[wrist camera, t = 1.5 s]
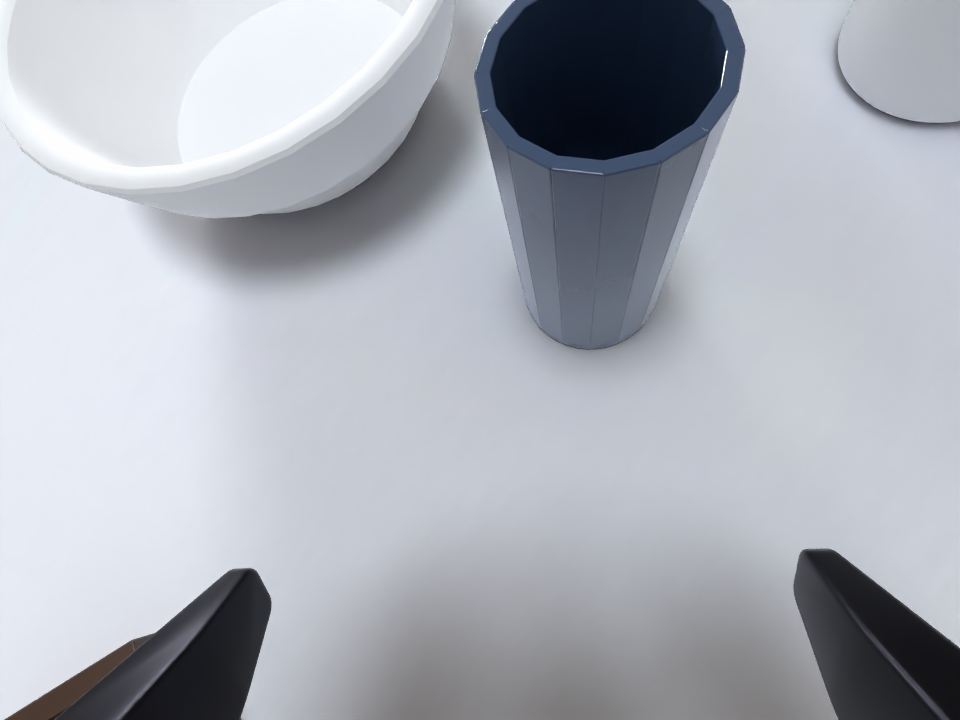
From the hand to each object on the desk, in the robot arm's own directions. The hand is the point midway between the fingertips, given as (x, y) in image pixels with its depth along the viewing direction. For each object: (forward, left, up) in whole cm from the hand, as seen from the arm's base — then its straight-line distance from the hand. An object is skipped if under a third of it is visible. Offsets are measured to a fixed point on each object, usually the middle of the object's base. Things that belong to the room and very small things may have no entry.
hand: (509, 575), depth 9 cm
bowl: (+27, -1, -14) cm, 31 cm away
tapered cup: (+8, -8, -14) cm, 18 cm away
